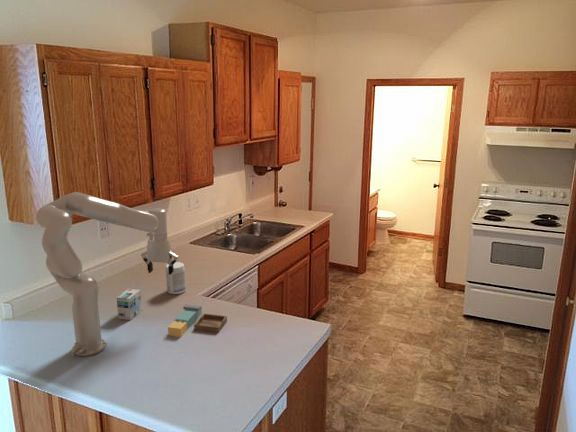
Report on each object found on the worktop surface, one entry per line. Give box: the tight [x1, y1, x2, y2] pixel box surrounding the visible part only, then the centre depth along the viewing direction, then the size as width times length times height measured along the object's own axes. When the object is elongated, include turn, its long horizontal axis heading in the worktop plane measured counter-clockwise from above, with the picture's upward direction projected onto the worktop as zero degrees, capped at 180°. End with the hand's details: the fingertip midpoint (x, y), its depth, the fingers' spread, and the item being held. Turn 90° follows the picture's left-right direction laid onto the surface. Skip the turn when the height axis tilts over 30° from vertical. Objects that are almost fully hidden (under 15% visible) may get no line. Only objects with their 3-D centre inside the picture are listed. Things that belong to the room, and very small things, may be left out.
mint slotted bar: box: [174, 304, 203, 331], centre depth 211 cm, size 16×8×5 cm, turn 168°
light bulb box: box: [116, 288, 143, 321], centre depth 216 cm, size 11×7×11 cm, turn 168°
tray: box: [193, 313, 228, 334], centre depth 207 cm, size 11×11×2 cm
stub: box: [167, 320, 188, 338], centre depth 201 cm, size 6×6×4 cm
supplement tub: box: [165, 261, 187, 295], centre depth 242 cm, size 10×10×15 cm
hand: (160, 272), depth 208 cm, fingers open, 9 cm apart
